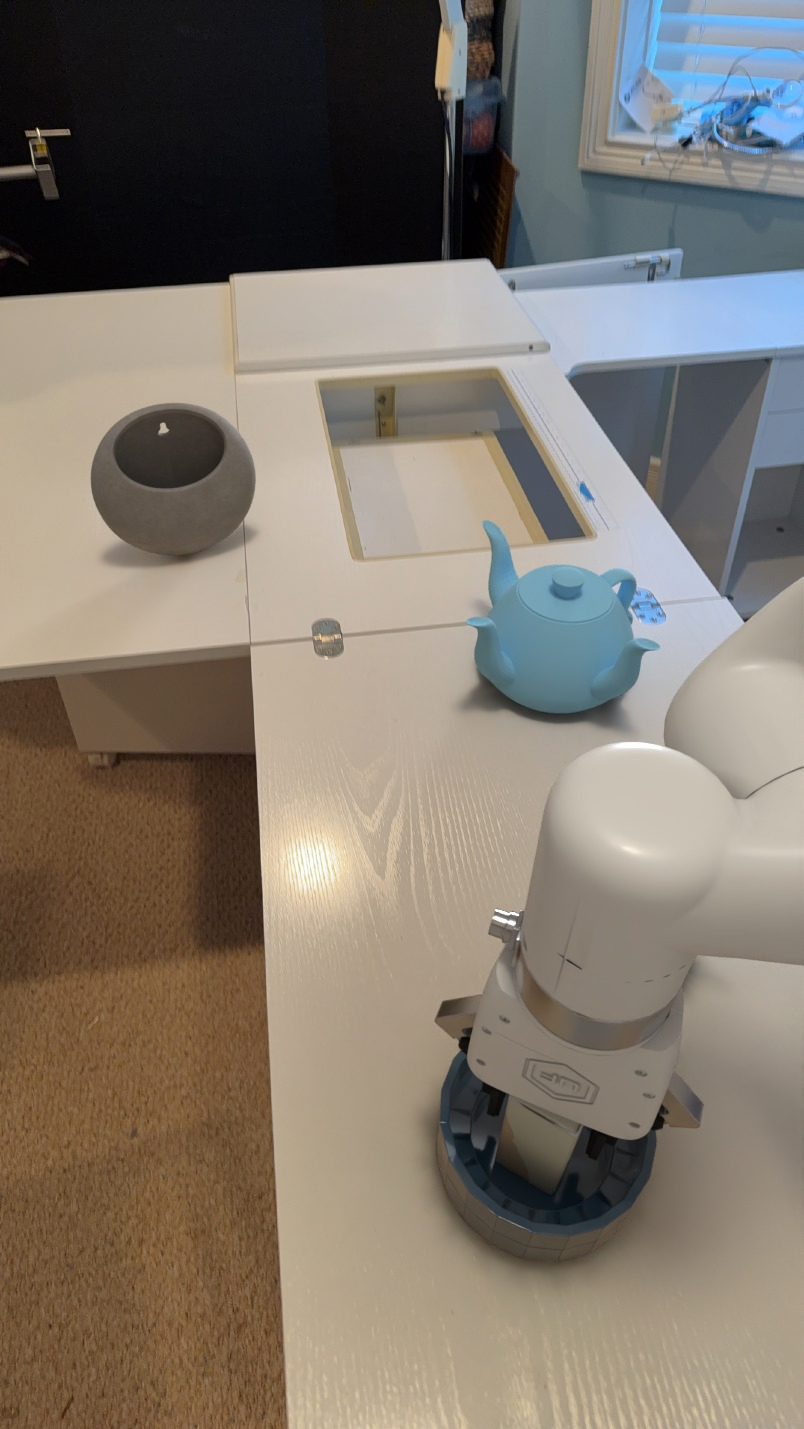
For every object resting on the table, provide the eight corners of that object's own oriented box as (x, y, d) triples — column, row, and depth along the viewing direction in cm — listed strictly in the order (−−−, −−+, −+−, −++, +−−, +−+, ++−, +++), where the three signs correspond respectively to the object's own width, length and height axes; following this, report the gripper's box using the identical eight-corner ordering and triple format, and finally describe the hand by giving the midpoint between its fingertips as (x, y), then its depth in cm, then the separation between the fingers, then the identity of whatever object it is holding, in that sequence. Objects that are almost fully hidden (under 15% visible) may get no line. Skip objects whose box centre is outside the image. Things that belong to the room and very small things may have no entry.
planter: (115, 583, 102) (74, 433, 89) (108, 550, 107) (68, 403, 94) (270, 553, 107) (253, 406, 94) (256, 522, 112) (238, 378, 99)
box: (525, 1094, 60) (545, 1020, 53) (583, 1128, 59) (613, 1056, 51) (491, 1165, 57) (506, 1096, 49) (551, 1202, 56) (578, 1138, 48)
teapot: (457, 722, 87) (464, 625, 78) (476, 607, 100) (484, 513, 91) (633, 743, 85) (661, 646, 76) (629, 623, 98) (652, 528, 89)
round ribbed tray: (654, 1097, 61) (674, 1059, 57) (610, 1303, 52) (629, 1278, 48) (475, 1025, 64) (481, 985, 60) (406, 1208, 56) (407, 1176, 52)
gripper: (397, 966, 41) (395, 1115, 54) (776, 1113, 36) (676, 1238, 49) (453, 846, 46) (439, 1009, 59) (793, 963, 41) (698, 1112, 54)
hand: (547, 1112), depth 54 cm, fingers open, 5 cm apart
